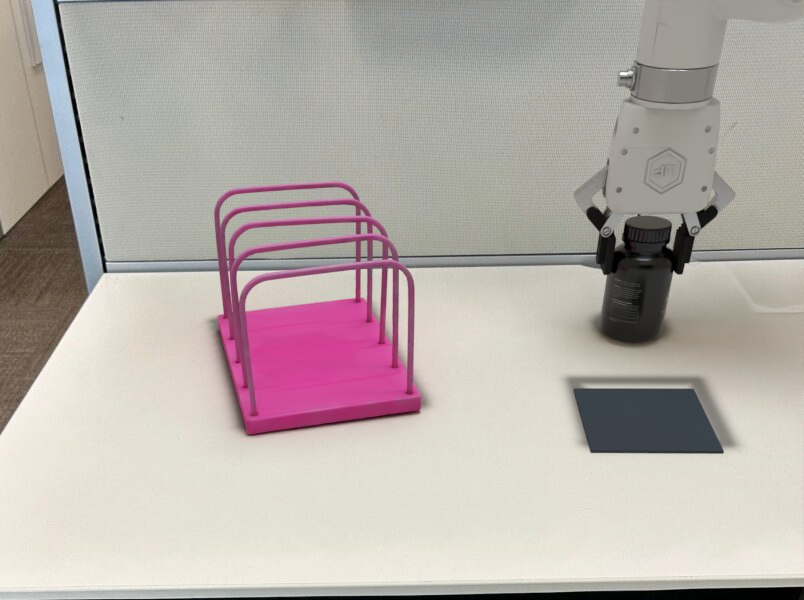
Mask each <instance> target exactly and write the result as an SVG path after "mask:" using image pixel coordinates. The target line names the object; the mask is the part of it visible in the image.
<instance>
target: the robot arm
mask: <svg viewBox="0 0 804 600" xmlns="http://www.w3.org/2000/svg"><path fill="white" fill-rule="evenodd" d="M642 9H643V10H642V16H641V22H640V28H639V35H638V41H637V42H638V43H637V48H636V57H635V60H633V62H632V63H633V64H632V65H631V66H630V68H627V69H626V70H619V71H618V73H617V77H616V87H618V88H620V87H623V88H625V89H628V90H629V92H630V95H626V96H624V97H623V98H622V102H621V105H620V108H619V110H618V113H617V117H616V119H615V122H614V126H613V127H614V128H613V130H612V135H611V139H610V143H609V148H608V152H607V157H606V160H605V166H604V167H602V168H601V169H600V170H599V171H598V172H596V173H595V174H593V176H591V177H590V178H589V179H588V180H587V181H585V182H584V183H582V185H580V186H579V187H578V188H576V189H575V190H574V191H573V198H574V200H575V203H576V204H577V205H578V207H579V208H580V209H581V211H582V212H583V213H584V215H585V216H586V218H587V219H588V220H589V222H590V223H591V224H592V225H593V226H594V227H595V229H596V230H597V231H598V239H597V246H596V252H595V263H596V265H600V266H599V267H600V269H601V272H602V274H603V276H607V275H609V274H611V271H612V264H613V258H614V251H615V248H616V244H617V237H616V234H615V229H616V228H617V227H618V225H619V223H620V221H622V218H623V217H624V215H679V216H680V218H681V222H682V223H681V225H680V226H678V228H676V231H675V236H674V241H673V246H672V249H671V250H672V251H673V253H674V255H675V267H674V272H673V273H674V274H676V275H683V274H684V270H685V265H686V264H690V262H691V258H692V254H693V253H692V252H693V249H694V245H695V239H696V237H697V236H699V235H700V234H701V232H702V229H704V228H705V227H706V226H707V225H708V224H709V223H710V222H712V221H714V219H716V217H718V214H719V213H720V212H722V211H723V210H724V209H725V208H726V207H727V206H728V205H729V204H731V202H732V201H734V199H735V198H736V191H734V189H733V188H732V187H731V186H730V185H729V184H728V183H727V182H726V181H725V180H724V179H723V177H722V176H721V175H720V174H719V173H718V172H717V171H716V163H717V156H718V147H719V140H720V139H719V138H720V127H721V100H719V99H717V98H716V97H714V96H713V95H714V90H715V85H716V81H717V76H718V71H719V65H720V60H721V56H722V55H721V54H722V50H723V46H724V41H725V35H726V31H727V30H726V29H727V27H728V21H729V20H733V19H734V20H741V21H749V22H757V23H763V24H764V23H766V24H772V25H773V24H774V25H775V24H777V25H778V24H780V25H781V24H789V23H794V22H796V21H799V20H802V19H804V0H644V1H643V8H642ZM601 190H602V193H601V194H602V196H603V198H604V199H605V203H606V206H605V207H604V209H603V211H602V210H600V208H599V207H598V206H597V205H596V204H595V202H594V201H593V197H594V196H595V195H596V194H597V193H598V192H600V191H601ZM712 190H713V191H714V195H713V196H712V197H711V194H712ZM710 198H711V199H710Z"/></svg>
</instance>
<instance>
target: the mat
mask: <svg viewBox="0 0 804 600" xmlns="http://www.w3.org/2000/svg"><path fill="white" fill-rule="evenodd" d="M573 393H574V397H575V400H576V404H577V407H578V410H579V414H580V418H581V421H582V425H583V428H584V432H585V435H586V440H587V443H588V446H589V450H590V453H654V454H655V453H656V454H657V453H660V454H661V453H663V454H665V453H667V454H668V453H669V454H670V453H671V454H673V453H674V454H677V453H678V454H679V453H680V454H681V453H682V454H685V453H686V454H724V453H725V450H724V449H723V447H722V444H721V442H720V440H719V438H718V436H717V434H716V432H715V430H714V428H713V425H712V423H711V422H710V420H709V416H708V415H707V413H706V411H705V409H704V407H703V405H702V403H701V400H700V398H699V397H698V395H697V393H696V391H695V388H684V387H683V388H676V387H675V388H669V387H668V388H667V387H666V388H664V387H663V388H652V387H651V388H647V387H646V388H643V387H642V388H641V387H639V388H633V387H632V388H631V387H630V388H629V387H627V388H624V387H623V388H622V387H621V388H619V387H618V388H615V387H613V388H612V387H611V388H610V387H607V388H606V387H603V388H602V387H601V388H600V387H599V388H597V387H595V388H594V387H593V388H592V387H589V388H588V387H587V388H586V387H583V388H582V387H577V388H575V387H574V388H573Z"/></svg>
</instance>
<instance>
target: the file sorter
mask: <svg viewBox="0 0 804 600" xmlns="http://www.w3.org/2000/svg"><path fill="white" fill-rule="evenodd" d="M330 188H331V189H332V188H339V189H343V190H346V191H347V192H349V194H350V195H351V196H352V197H353V198H350V197H345V198H327V199H309V200H296V201H284V202H283V201H282V202H271V203H257V204H248V205H240V206H237V207H235V208H233V209H231V210H230V211H229V212H227V213H226V215H225V216H224V217H223V219H222V221H221V217H220V216H221V215H220V213H221V208H222V206H223V204H224V203H225V201H227V200H228V199H229V198H231V197H232V196H235V195H243V194H252V193H253V194H255V193H266V192H282V191H295V190H296V191H297V190H314V189H315V190H316V189H330ZM343 205H345V206H354V208H355V215H341V216H340V215H337V216H316V217H315V216H313V217H296V218H295V217H294V218H280V219H279V218H277V219H264V220H263V219H262V220H254V221H253V220H252V221H248V222H246V223H243V224H242V225H240V226H239V227H238V228H236V230H234V232H233V233H232V235H231V237H230V239H229V242H228V247H227V246H226V228H227V226H228V224H229V222H230V221H231V220H232V218H233V217H235V216H237V215H239V214H241V213H249V212H260V211H271V210H283V209H284V210H285V209H295V208H308V207H309V208H310V207H327V206H343ZM362 212H363V213H364V215H362ZM213 216H214V217H213V218H214V233H215V240H216V241H215V244H216V252H217V253H216V254H217V261H218V262H217V263H218V272H219V282H220V289H221V290H220V291H221V299H222V300H221V301H222V310H223V311H222V312H223V314H218V315H217V326H218V327H217V328H218V331H219V333H220V337H221V338H220V339H221V341H222V345H223V349H224V352H225V356H226V360H227V363H228V366H229V371H230V375H231V379H232V382H233V387H234V390H235V393H236V397H237V401H238V404H239V408H240V412H241V415H242V419H243V424H244V428H245V431H246V434H248V435H254V434H261V433H267V432H274V431H280V430H288V429H295V428H301V427H309V426H316V425H323V424H328V423H336V422H337V423H338V422H345V421H351V420H359V419H366V418H373V417H380V416H387V415H395V414H401V413H407V412H408V413H409V412H415V411H420V410H421V409H422V395H421V392H420V391H419V389H418V387H417V385H416V384H415V382H414V361H415V360H414V358H415V356H414V355H415V314H416V313H415V311H416V310H415V309H416V308H415V307H416V306H415V305H416V304H415V299H416V298H415V295H416V293H415V292H416V291H415V290H416V289H415V282H414V278H413V277H414V276H413V275H412V273H411V272H410V270H409V269H408V268H407V267H406V266H405V265H404V264H402V263H401V262H400V261H399V254H398V250H397V248H396V246H395V245H394V243H393V242H392V240H390V239H389V236H388V232H387V230H386V229H385V227H384V225H383V224H382V223H381V222H380V221H379V220H378V219H376V218H374V217H372V214H371V212H370V209H369V208H368V207H366V205H365V204H364V203H363V202H362V201H361V199H360V197H359V195H358V193H357V192H356V190H355V189H354V188H353V187H352V186H351V185H349V184H348V183H346V182H343V181H336V180H335V181H334V180H333V181H316V182H298V183H284V184H283V183H282V184H268V185H267V184H266V185H255V186H243V187H234V188H232V189H229V190H226V191H225V192H224V193H222V195H220V196H219V198H218V199H217V201H216V203H215V207H214V211H213ZM344 223H347V224H348V223H349V224H350V223H355V234H349V235H339V236H330V237H320V238H312V239H305V240H296V241H285V242H278V243H269V244H262V245H261V244H260V245H254V246H251V247H249V248H246V249H244V250H243V251H242V252H241V253H239V254H238V255H237V257H236V258H235V246H236V243H237V240H238V239H239V238H240V237H241V235H242V234H244V233H245V232H247V231H248V230H252V229H260V228H273V227H288V226H303V225H304V226H305V225H322V224H323V225H324V224H327V225H328V224H344ZM362 223H366V232H367V233H362ZM373 226H374V227H375V228H376V229H377V230H378V231H379V233H380V234H379V233H374V229H373V228H374V227H373ZM365 241H366V255H367V256H366V261H362V242H365ZM374 241H377V242H380V243H382V245H381V246H382V248H381V249H382V255H381V259H376V260H374V259H373V258H374ZM346 243H347V244H348V243H355V262H347V263H338V264H330V265H329V264H328V265H320V266H312V267H303V268H297V269H288V270H280V271H272V272H271V271H270V272H266V273H262V274H259V275H256V276H255V277H253V278H251V279H250V280H249V281H248V282H247V283H246V284H245V285H244V286H243V288H242V290H241V292H240V295H239V292H238V290H239V289H238V279H237V277H238V276H237V273H238V270H239V268H240V265H242V262H244V260H246V259H247V258H249V257H251V256H253V255H256V254H262V253H263V254H264V253H269V252H271V253H272V252H278V251H285V250H286V251H287V250H294V249H304V248H311V247H319V246H320V247H321V246H328V245H329V246H330V245H339V244H340V245H341V244H346ZM227 249H228V250H227ZM227 251H228V252H227ZM389 251H390V253H391V259H389ZM227 253H228V257H227ZM389 267H390V268H392V311H391V313H392V315H391V316H392V317H391V318H392V339H391V340H392V342H391V341H390V339H389V338H388V336H387V335H386V321H387V296H388V277H389V276H388V275H389V273H388V272H389ZM375 268H381V280H380V281H381V282H380V283H381V284H380V305H379V307H380V308H379V309H380V311H379V321H378V318H376V316H375V314H374V312H373V269H375ZM363 269H364V270H365V269H366V299H365V297H362V296H361V295H362V294H361V291H362V290H361V289H362V284H361V282H362V281H361V280H362V278H361V275H362V271H361V270H363ZM347 271H355V291H354V293H355V297H352V298H343V299H336V300H327V301H326V300H325V301H319V302H311V303H303V304H294V305H285V306H279V307H278V306H277V307H270V308H260V309H253V310H246V302H247V301H246V300H247V298H248V296H249V293H250V292H251V291H252V290H253V289H254V288H255V287H256V286H258V285H259V284H262V283H264V282H269V281H275V280H283V279H289V278H298V277H305V276H314V275H323V274H330V273H338V272H347ZM400 272H402V273H403V275H404V276H405V278H406V282H407V351H406V353H407V354H406V358H407V359H406V367H405V365H404V364H403V362H402V360H401V358H400V356H399V318H400V317H399V316H400V292H399V291H400Z"/></svg>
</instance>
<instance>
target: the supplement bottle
mask: <svg viewBox="0 0 804 600" xmlns="http://www.w3.org/2000/svg"><path fill="white" fill-rule="evenodd" d="M624 221H625V222H624V226H623V231H622V233H621V242H622V243H619V244H618V245H617V246H615V251H614V258H613V264H612V271H611V274H609V275H606V279H605V284H604V285H605V286H604V292H603V297H602V298H603V299H602V305H601V311H600V312H601V313H600V320H599V329H600V332H601V333H602V334H603V336H605V337H606V338H608V339H610V340H612V341H615V342H620V343H625V344H643V343H649V342H651V341H654V340H656V339H657V338H658V337H660V335H661V333H662V331H663V327H664V322H665V317H666V313H667V307H668V302H669V297H670V292H671V287H672V282H673V276H674V273H675V272H674V267H675V255H674V253H673V251H672V250H673V249H671V248H670V247H669V246H668V245H670V242H671V239H672V237H671V234H672V229H673V223H672V221H671V220H669V219H667V218H664V217H661V216H656V215H635V216H631V217H628V218H626V219H625V220H624Z"/></svg>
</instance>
